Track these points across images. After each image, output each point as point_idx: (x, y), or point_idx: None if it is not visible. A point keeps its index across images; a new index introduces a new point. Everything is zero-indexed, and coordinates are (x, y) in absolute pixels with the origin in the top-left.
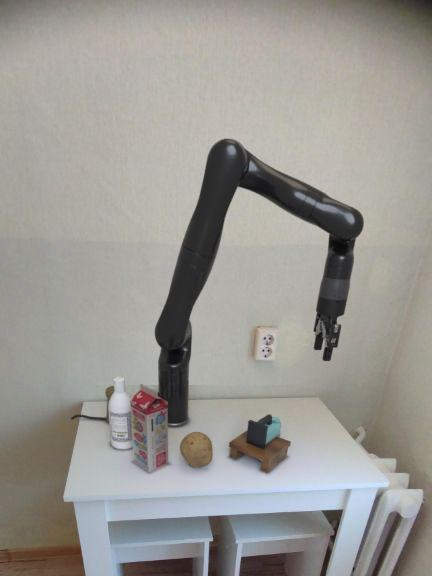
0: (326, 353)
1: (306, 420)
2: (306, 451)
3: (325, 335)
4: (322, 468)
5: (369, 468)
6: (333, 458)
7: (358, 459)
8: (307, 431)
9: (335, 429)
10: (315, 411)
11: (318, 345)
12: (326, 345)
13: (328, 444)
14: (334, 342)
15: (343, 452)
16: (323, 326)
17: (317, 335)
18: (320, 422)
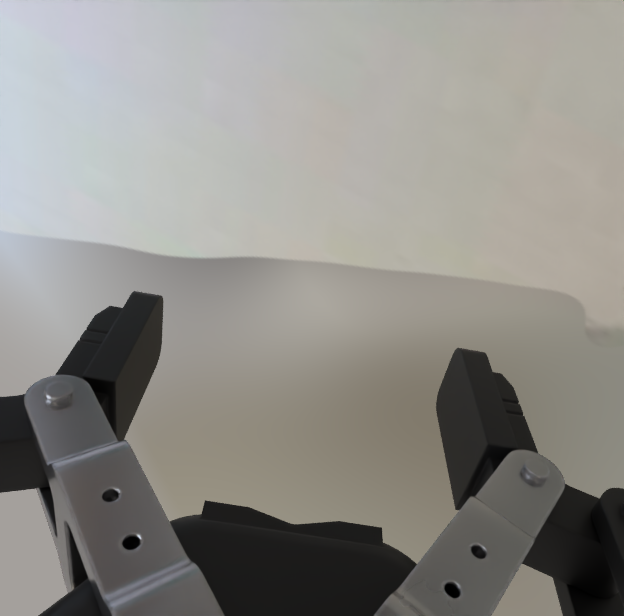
0: (80, 346)
1: (457, 176)
2: (175, 34)
3: (62, 494)
4: (27, 41)
5: (39, 235)
6: (111, 133)
7: (103, 229)
8: (355, 130)
9: (344, 261)
10: (523, 257)
11: (454, 406)
12: (28, 396)
13: (226, 170)
14: (43, 504)
15: (157, 199)
16: (110, 614)
17: (497, 473)
18: (419, 230)
